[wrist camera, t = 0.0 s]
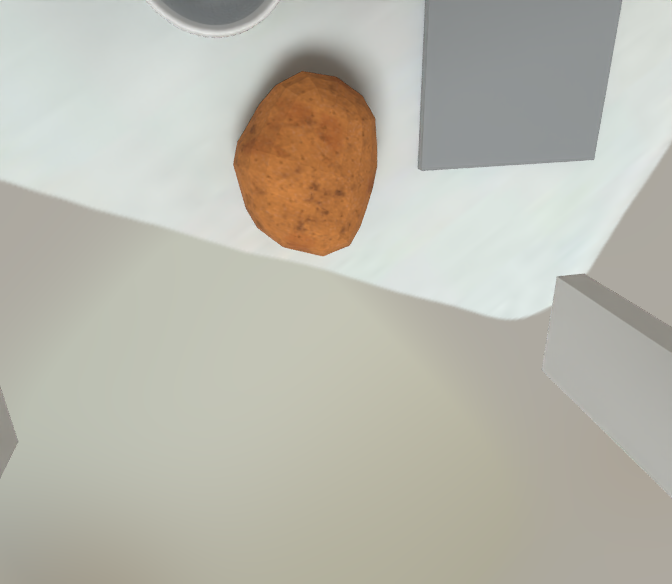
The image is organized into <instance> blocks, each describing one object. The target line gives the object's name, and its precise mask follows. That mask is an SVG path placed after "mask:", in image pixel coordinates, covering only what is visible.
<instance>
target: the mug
mask: <svg viewBox="0 0 672 584" xmlns="http://www.w3.org/2000/svg"><path fill="white" fill-rule="evenodd" d="M279 1H280V0H146V2H147V3H148V4H149V5H150V6H151V7H152V8H153V9H154V10H155V11H156V12H157V13H158V14H159V15H160V16H161V17H163V18H164V19H166V20H167V21H168V22H169V23H171V24H173V25H174V26H175V27H177V28H180V29H182V30H183V31H186V32H189V33H190V34H195V35H198V36H203V37H212V38H216V37H217V38H222V37H229V36H235V35H236V34H241V33H242V32H244V31H248V30H249V29H251V28H253V27H254V26H255V25H257V24H259V23H260V22H261V21H262V20H263V19H265V18H266V17H267V16H268V15H269V14H270V13H271V12H272V11H273V9H274V8H275V7H276V6H277V4H278V3H279Z"/></svg>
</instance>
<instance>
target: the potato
mask: <svg viewBox="0 0 672 584" xmlns="http://www.w3.org/2000/svg"><path fill="white" fill-rule="evenodd" d="M233 165H234V169H235V172H236V176H237V179H238V183H239V186H240V190H241V193H242V197H243V200H244V204H245V207H246V209H247V211H248V213H249V214H250V216H251V218H252V220H253V221H254V223H255V225H256V226H257V228H258V229H260V230H261V231H262V232H264V233H265V234H266V235H268V236H269V237H270V238H272V239H273V240H274V241H276V242H277V243H278V244H280V245H281V246H282V247H285V248H289V249H294V250H298V251H302V252H307V253H311V254H315V255H320V256H325V255H327V254H330V253H332V252H335V251H337V250H340V249H342V248H344V247H347V246H349V245H350V244H351V242H352V241H353V239H354V237H355V235H356V233H357V232H358V230H359V228H360V226H361V223H362V220H363V217H364V214H365V211H366V208H367V205H368V202H369V199H370V195H371V192H372V188H373V184H374V179H375V174H376V169H377V139H376V126H375V117H374V116H373V114H372V112H371V110H370V108H369V107H368V105H367V103H366V101H365V100H364V98H363V96H362V95H361V94H359V93H358V92H356V91H355V90H354V89H352V88H351V87H350V86H348V85H347V84H346V83H344V82H343V81H342V80H340V79H339V78H337V77H334V76H328V75H322V74H316V73H310V72H304V71H302V72H300V73H298V74H296V75H294V76H292V77H290V78H288V79H286V80H284V81H283V82H281V83H279V84H277V85H276V86H274V88H273V89H272V90H271V91H270V92H269V94H268V95H267V96H266V97H265V98H264V99H263V101H262V102H261V103H260V104H259V106H258V107H257V109H256V111H255V113H254V115H253V116H252V118H251V120H250V122H249V123H248V125H247V127H246V129H245V130H244V132H243V134H242V135H241V137H240V138H239V140H238V142H237V147H236V153H235V158H234V163H233Z"/></svg>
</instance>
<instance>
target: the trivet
mask: <svg viewBox="0 0 672 584" xmlns="http://www.w3.org/2000/svg"><path fill="white" fill-rule="evenodd" d="M621 4H622V0H425V19H424V42H423V65H422V87H421V110H420V133H419V155H418V169H419V170H421V171H426V170H442V169H458V168H474V167H489V166H505V165H521V164H537V163H552V162H568V161H584V160H594V157H595V151H596V146H597V140H598V134H599V129H600V123H601V117H602V112H603V106H604V100H605V95H606V89H607V83H608V78H609V72H610V66H611V61H612V55H613V50H614V44H615V38H616V33H617V27H618V21H619V16H620V10H621Z"/></svg>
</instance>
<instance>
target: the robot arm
mask: <svg viewBox="0 0 672 584" xmlns="http://www.w3.org/2000/svg"><path fill="white" fill-rule="evenodd" d="M542 371H543V372H544V373H545V374H546V375H547V376H548V377H549V378H550V379H551V380H552V381H553V382H554V383H555V384H556V385H557V386H558V387H559V388H561V390H562V391H563V392H564V393H565V394H566V395H567V396H568V397H570V399H571V400H573V402H574V403H576V404H577V405H578V406H579V407H580V408H581V409H582V410H583V411H584V412H585V413H586V414H587V415H588V416H589V417H590V418H591V419H592V420H593V421H594V422H595V423H596V424H597V425H598V426H599V427H600V428H601V429H602V430H603V431H604V432H605V433H606V434H607V435H608V436H609V437H610V438H611V439H612V440H613V441H614V442H615V443H616V444H617V445H618V446H619V447H620V448H621V449H622V450H623V451H624V452H625V453H626V454H627V455H628V456H629V457H630V458H631V459H633V461H635V462H636V463H637V464H638V465H639V466H640V467H641V468H642V469H643V470H644V471H645V472H646V473H647V474H648V475H649V476H650V477H651V478H652V479H653V480H654V481H655V482H656V483H657V484H658V485H659V486H660V487H661V488H662V489H663V490H664V491H665V492H666V493H667V494H668V495H669V496H670V497H671V498H672V327H671V326H669V325H668V324H666V323H664V322H663V321H661V320H659V319H658V318H656V317H654V316H653V315H651V314H650V313H648V312H646V311H645V310H643V309H641V308H640V307H638V306H637V305H635V304H633V303H632V302H630V301H628V300H627V299H625V298H623V297H622V296H620V295H619V294H617V293H615V292H614V291H612V290H610V289H609V288H607V287H605V286H604V285H602V284H600V283H599V282H597V281H596V280H594V279H592V278H590V277H589V276H587V275H586V274H577V275H567V276H557V279H556V285H555V291H554V297H553V304H552V310H551V316H550V322H549V328H548V334H547V340H546V347H545V353H544V359H543V365H542ZM17 443H18V439H17V436H16V433H15V430H14V427H13V424H12V421H11V418H10V415H9V412H8V408H7V405H6V402H5V399H4V396H3V393H2V390H1V387H0V478H1V475H2V473H3V471H4V469H5V468H6V466H7V463H8V462H9V460H10V457H11V455H12V453H13V451H14V449H15V447H16V445H17Z"/></svg>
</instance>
